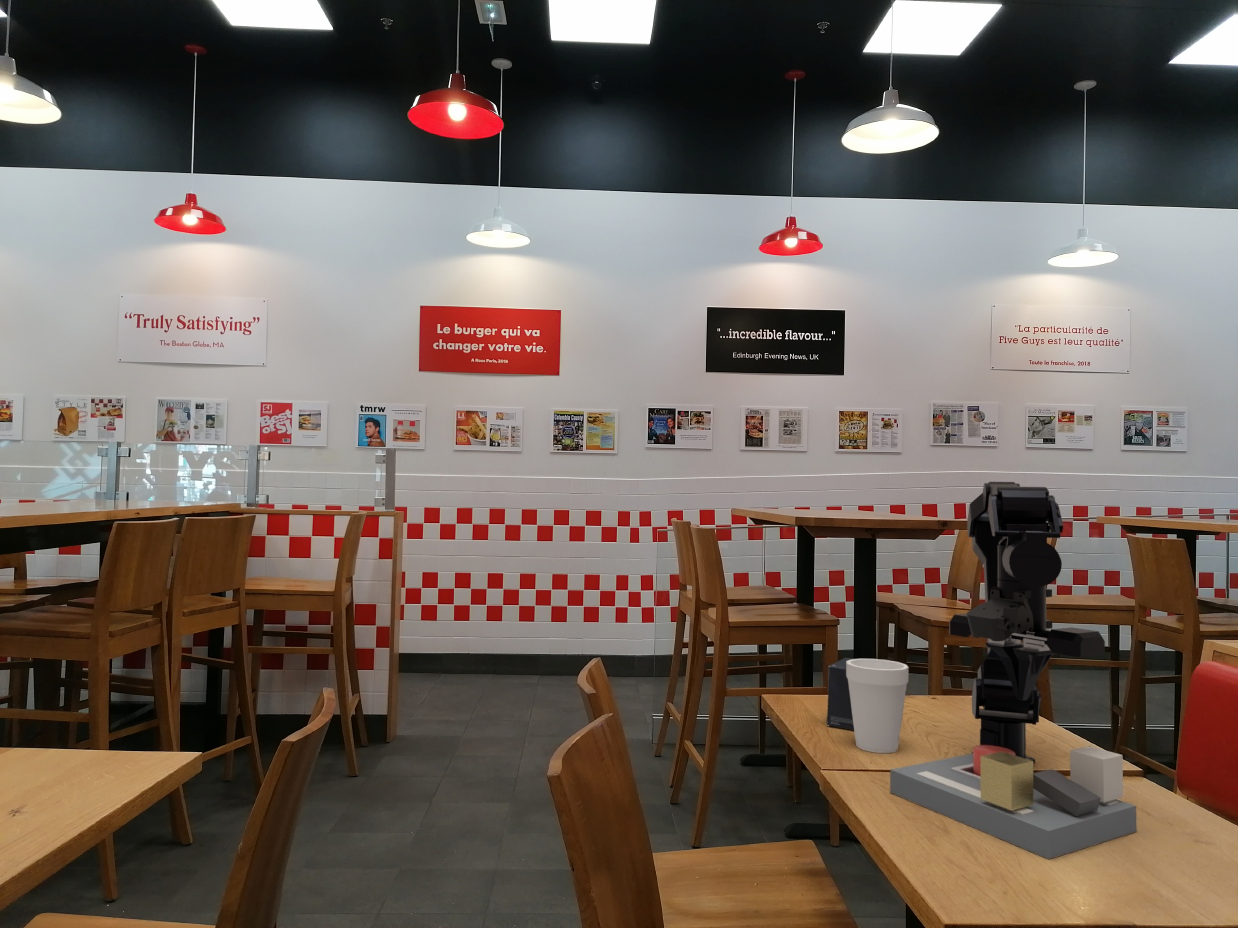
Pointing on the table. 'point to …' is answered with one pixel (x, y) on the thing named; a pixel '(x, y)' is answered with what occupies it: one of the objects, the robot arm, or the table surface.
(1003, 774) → the brass slider
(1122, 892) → the table surface
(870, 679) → the foam cup
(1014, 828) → the panel
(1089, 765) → the ivory slider
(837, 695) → the small box
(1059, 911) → the table surface
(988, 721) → the robot arm
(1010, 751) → the red button
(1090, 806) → the block
